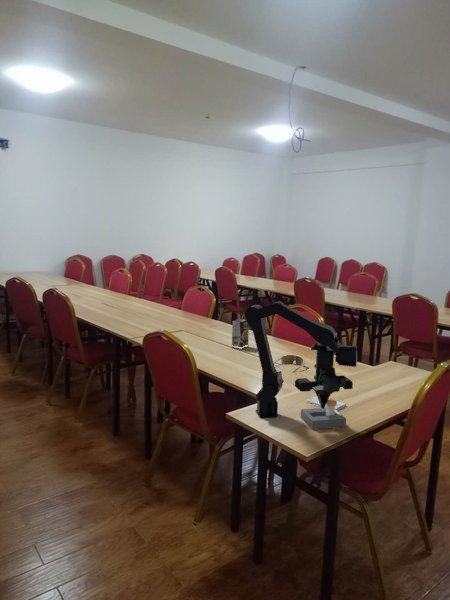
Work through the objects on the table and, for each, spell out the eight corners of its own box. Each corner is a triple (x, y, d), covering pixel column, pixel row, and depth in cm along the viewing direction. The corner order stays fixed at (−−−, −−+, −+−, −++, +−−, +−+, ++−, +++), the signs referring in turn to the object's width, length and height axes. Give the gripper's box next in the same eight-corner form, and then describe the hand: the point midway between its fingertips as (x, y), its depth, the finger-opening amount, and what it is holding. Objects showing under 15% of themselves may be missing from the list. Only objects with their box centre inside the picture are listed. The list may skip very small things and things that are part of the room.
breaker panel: (311, 429, 143) (312, 420, 142) (300, 417, 152) (301, 408, 152) (345, 427, 145) (346, 417, 145) (332, 415, 155) (332, 406, 154)
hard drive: (306, 399, 167) (334, 408, 158) (318, 394, 172) (346, 403, 164) (306, 404, 167) (334, 413, 158) (318, 398, 173) (346, 407, 164)
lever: (328, 420, 147) (329, 402, 146) (324, 416, 150) (324, 398, 150) (335, 419, 148) (336, 401, 147) (331, 415, 151) (332, 398, 150)
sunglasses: (308, 366, 217) (308, 356, 216) (296, 377, 205) (295, 368, 204) (283, 361, 225) (282, 352, 223) (269, 372, 213) (268, 363, 211)
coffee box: (241, 349, 247) (241, 322, 245) (231, 348, 251) (231, 320, 249) (248, 346, 255) (249, 319, 253) (239, 345, 258) (239, 318, 256)
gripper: (307, 371, 136) (305, 419, 138) (362, 369, 140) (359, 415, 142) (295, 362, 147) (293, 406, 149) (346, 360, 151) (343, 403, 153)
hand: (322, 408), depth 148 cm, fingers closed
